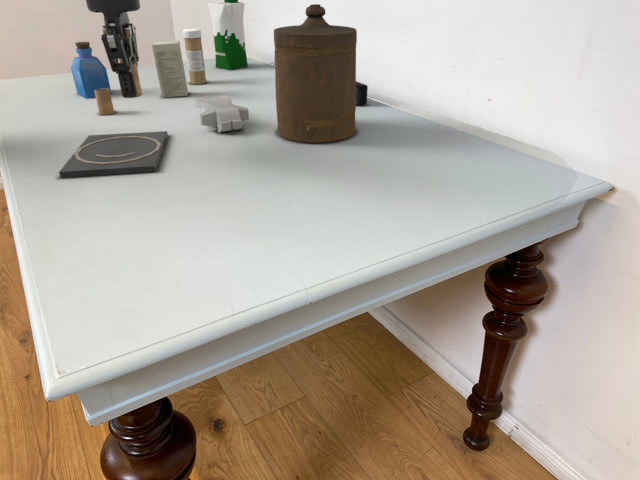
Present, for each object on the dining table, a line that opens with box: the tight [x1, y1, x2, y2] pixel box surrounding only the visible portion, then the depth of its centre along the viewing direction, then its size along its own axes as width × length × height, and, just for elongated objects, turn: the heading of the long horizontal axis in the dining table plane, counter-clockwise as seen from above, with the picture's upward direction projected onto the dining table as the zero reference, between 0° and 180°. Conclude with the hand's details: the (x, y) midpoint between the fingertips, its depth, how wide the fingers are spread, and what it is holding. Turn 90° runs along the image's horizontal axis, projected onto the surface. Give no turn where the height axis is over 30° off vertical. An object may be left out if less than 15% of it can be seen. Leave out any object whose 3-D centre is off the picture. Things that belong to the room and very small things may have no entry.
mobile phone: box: [356, 80, 369, 106], centre depth 112 cm, size 5×3×15 cm
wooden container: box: [273, 3, 358, 144], centre depth 87 cm, size 15×15×22 cm
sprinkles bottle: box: [182, 28, 207, 85], centre depth 127 cm, size 5×5×13 cm
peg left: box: [94, 88, 115, 116], centre depth 103 cm, size 3×3×5 cm
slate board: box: [58, 130, 169, 179], centre depth 82 cm, size 14×18×1 cm
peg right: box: [119, 61, 143, 98], centre depth 78 cm, size 3×3×5 cm
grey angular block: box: [193, 94, 250, 133], centre depth 96 cm, size 10×5×15 cm
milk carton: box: [207, 0, 249, 71], centre depth 144 cm, size 9×9×20 cm
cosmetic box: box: [151, 40, 189, 98], centre depth 115 cm, size 6×4×12 cm
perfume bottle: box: [70, 41, 113, 99], centre depth 117 cm, size 6×6×12 cm
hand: (132, 94), depth 79 cm, fingers closed on peg right, 3 cm apart
